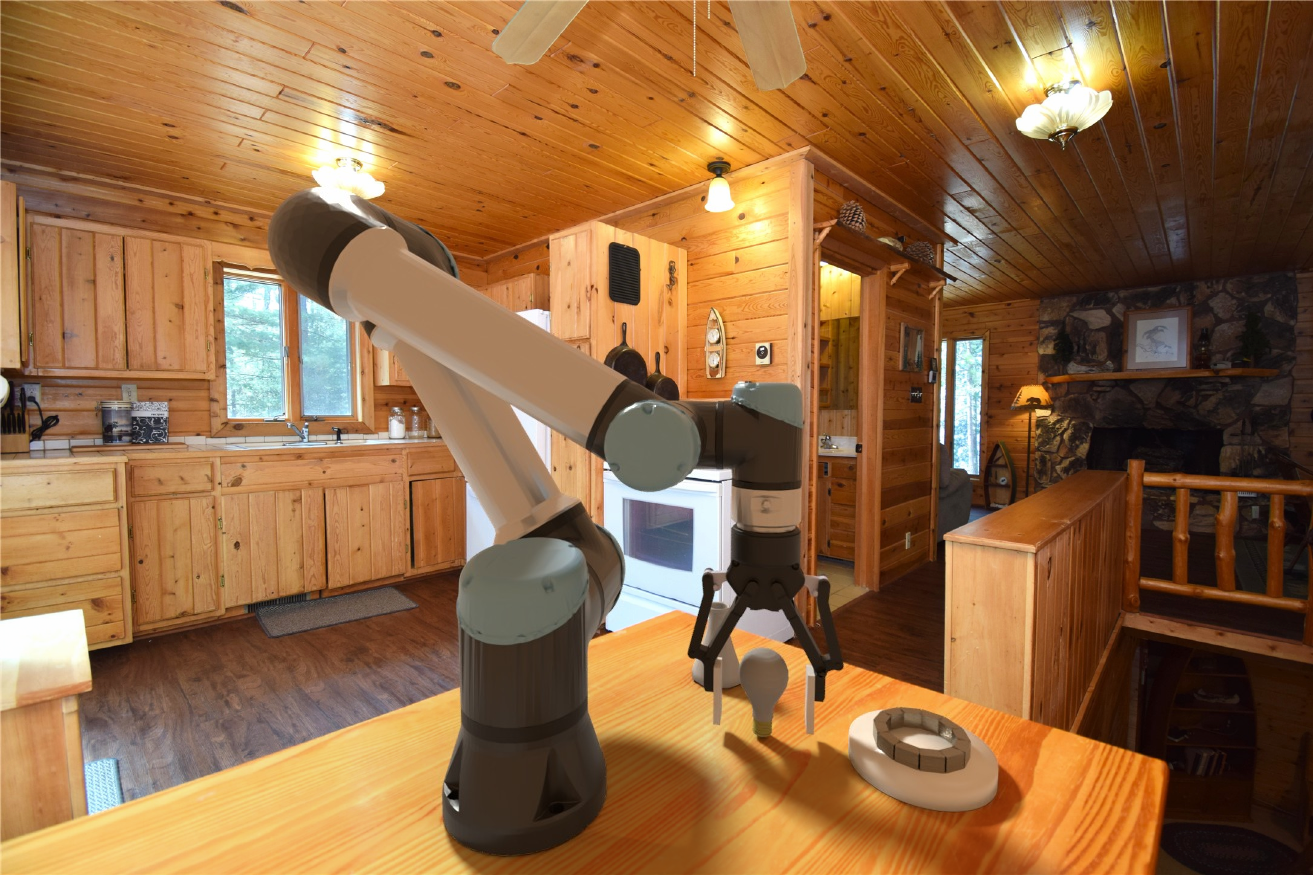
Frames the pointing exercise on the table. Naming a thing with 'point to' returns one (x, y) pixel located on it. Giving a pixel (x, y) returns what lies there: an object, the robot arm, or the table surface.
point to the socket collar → (921, 757)
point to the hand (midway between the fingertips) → (762, 722)
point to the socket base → (918, 786)
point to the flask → (727, 653)
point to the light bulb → (763, 685)
